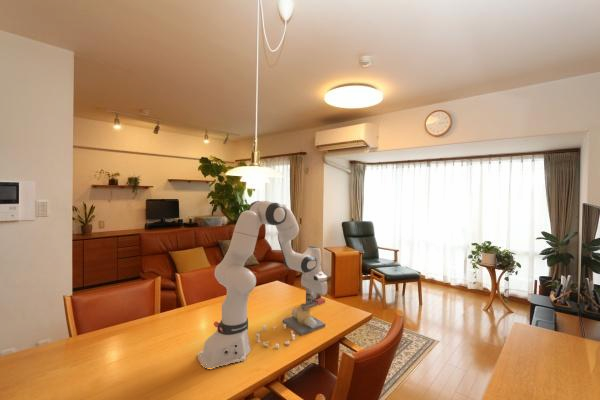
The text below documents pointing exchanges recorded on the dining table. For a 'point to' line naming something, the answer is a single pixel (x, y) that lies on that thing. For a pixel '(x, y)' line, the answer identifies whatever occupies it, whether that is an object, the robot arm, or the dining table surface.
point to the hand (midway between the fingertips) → (313, 297)
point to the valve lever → (313, 303)
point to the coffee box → (309, 298)
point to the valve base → (302, 327)
